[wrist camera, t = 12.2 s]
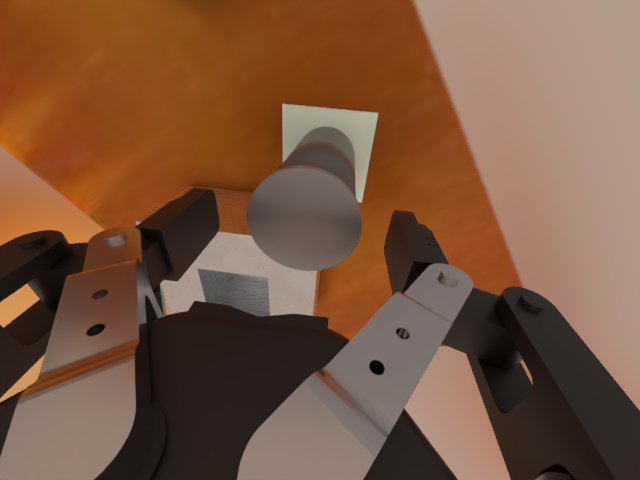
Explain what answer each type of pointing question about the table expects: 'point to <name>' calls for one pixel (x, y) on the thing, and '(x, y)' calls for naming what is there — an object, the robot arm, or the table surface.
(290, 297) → the housing
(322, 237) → the gray cylinder
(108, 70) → the table surface
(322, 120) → the mat
